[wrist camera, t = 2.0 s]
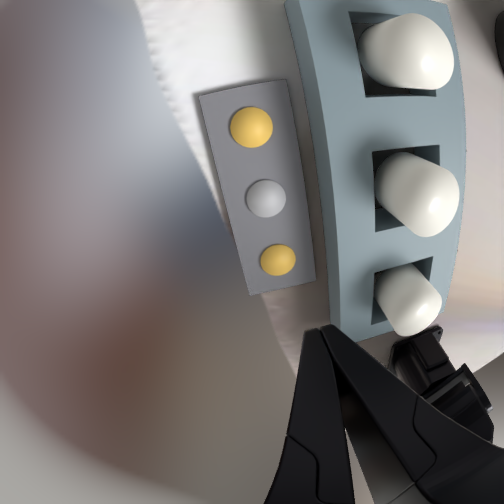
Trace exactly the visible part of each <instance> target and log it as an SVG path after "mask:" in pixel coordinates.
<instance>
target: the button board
mask: <svg viewBox="0 0 504 504" xmlns="http://www.w3.org/2000/svg"><path fill="white" fill-rule="evenodd" d="M284 6H285V9H286V13H287V17H288V21H289V25H290V29H291V33H292V38H293V42H294V46H295V51H296V55H297V60H298V64H299V69H300V74H301V79H302V84H303V89H304V94H305V100H306V105H307V111H308V117H309V122H310V128H311V135H312V141H313V147H314V154H315V161H316V168H317V176H318V183H319V191H320V200H321V209H322V218H323V228H324V238H325V249H326V261H327V275H328V290H329V308H330V323H331V324H333V325H335V326H336V327H337V328H339V329H340V330H341V331H342V332H343V333H345V334H346V335H347V336H348V337H349V338H351V339H352V340H353V341H354V342H359V341H362V340H365V339H369V338H372V337H375V336H378V335H381V334H384V333H387V332H390V331H393V330H394V328H393V327H392V325H391V323H390V322H389V320H388V319H387V317H386V315H385V314H384V312H383V311H382V309H381V307H380V306H379V304H378V303H377V301H376V299H375V297H373V290H374V273H375V272H378V271H382V270H386V269H389V268H393V267H397V266H400V265H404V264H407V263H412V264H413V265H414V266H415V267H416V268H417V269H418V270H419V271H420V272H421V273H422V274H423V276H424V277H425V278H426V279H427V280H428V281H429V282H430V284H431V285H432V286H433V287H434V288H435V289H436V290H437V292H438V293H439V294H440V295H441V298H442V305H441V309H440V311H439V313H438V314H440V313H443V312H444V308H445V304H446V300H447V296H448V292H449V288H450V284H451V279H452V275H453V270H454V265H455V259H456V254H457V248H458V242H459V235H460V228H461V220H462V212H463V201H464V189H465V171H466V124H465V106H464V94H463V85H462V76H461V69H460V62H459V56H458V51H457V45H456V40H455V35H454V31H453V26H452V22H451V18H450V14H449V10H448V7H447V5H446V4H443V3H439V2H435V1H431V0H286V2H285V3H284ZM408 13H416V14H420V15H423V16H425V17H427V18H429V19H431V20H432V21H433V22H435V23H436V24H437V25H438V26H439V27H440V28H441V29H442V31H443V32H444V33H445V35H446V37H447V38H448V40H449V42H450V45H451V48H452V51H453V56H454V68H453V73H452V76H451V78H450V80H449V81H448V82H447V83H446V84H445V85H444V86H443V87H441V88H438V89H433V90H430V89H416V88H409V91H410V94H380V95H365V91H364V85H363V79H362V73H361V67H360V62H359V57H358V52H357V47H356V42H355V38H354V33H353V29H352V25H351V23H372V24H378V23H381V22H384V21H386V20H389V19H392V18H395V17H398V16H401V15H404V14H408ZM407 147H414V152H415V155H416V156H418V157H420V158H423V159H425V160H427V161H430V162H432V163H434V164H436V165H438V166H441V167H443V168H445V169H447V170H449V171H450V172H451V173H452V174H453V175H454V177H455V178H456V180H457V183H458V186H459V204H458V208H457V211H456V213H455V215H454V217H453V219H452V221H451V222H450V223H449V225H448V226H447V227H446V228H445V229H444V230H443V231H441V232H440V233H438V234H436V235H434V236H431V237H421V236H418V235H416V234H414V233H413V232H412V231H411V230H410V229H409V228H407V227H406V226H405V225H404V224H403V223H402V222H400V221H399V220H398V219H397V218H396V217H394V216H393V215H392V214H391V213H390V212H388V211H387V210H386V209H385V208H381V209H376V210H375V199H374V178H373V162H372V151H380V150H388V149H397V148H407Z"/></svg>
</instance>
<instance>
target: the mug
mask: <svg viewBox="0 0 504 504" xmlns="http://www.w3.org/2000/svg"><path fill="white" fill-rule="evenodd" d="M495 38H496V45H497V51H498V55H499V59H500V62H501V65H502V68H503V70H504V11H503V12H502V13H501V14H499V16H498V18H497V20H496V25H495Z"/></svg>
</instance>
